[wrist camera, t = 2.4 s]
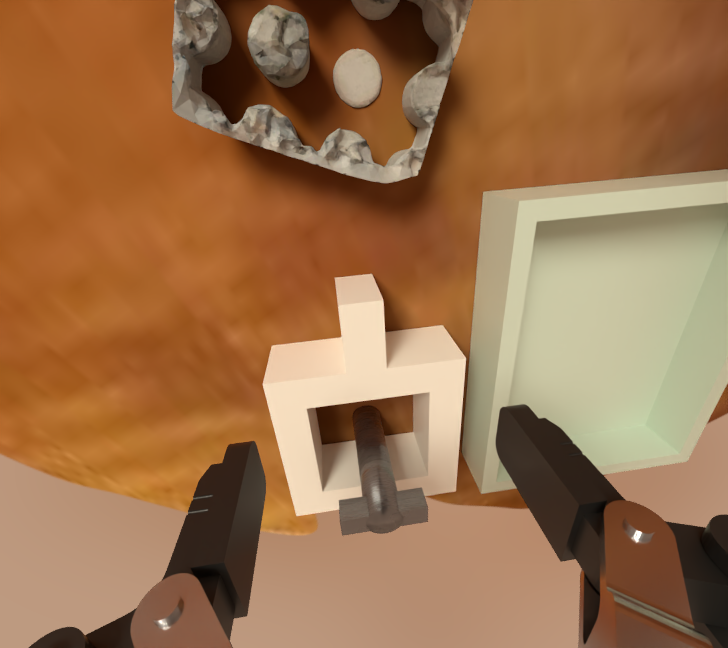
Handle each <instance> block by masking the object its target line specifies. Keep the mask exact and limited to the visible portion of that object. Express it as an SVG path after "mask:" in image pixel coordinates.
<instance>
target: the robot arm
mask: <svg viewBox="0 0 728 648" xmlns="http://www.w3.org/2000/svg"><path fill="white" fill-rule="evenodd" d="M495 444H496V450H497V454H498V457H499V459H500V461H501V463H502V464H503V466H504V468H505V469H506V471H507V473H508V474H509V476H510V478H511V479H512V481H513V483H514V484H515V486H516V488H517V489H518V491H519V493H520V494H521V496H522V498H523V499H524V501H525V503H526V504H527V506H528V508H529V509H530V511H531V513H532V514H533V516H534V518H535V519H536V521H537V522H538V524H539V526H540V528H541V529H542V531H543V533H544V534H545V536H546V538H547V539H548V541H549V543H550V544H551V546H552V548H553V549H554V551H555V553H556V554H557V556H558V558H559V559H560V561H567V560H572V559H576V560H577V561H578V563H579V565H580V566H581V568H582V571H581V574H580V605H579V642H578V648H728V515H718V516H715V517H713V518H712V519H711V520H710V522H709V524H708V525H707V527H706V528H703V527H697V526H691V525H684V524H677V523H671V522H666V521H664V520H663V519H662V518H661V517H659V516H658V515H657V514H656V513H654V512H653V511H651V510H650V509H648V508H646V507H644V506H642V505H640V504H637V503H634V502H631V501H626V500H625V499H624V498H623V497H622V496H621V495H620V494H619V493H618V492H617V490H616V489H615V488H614V487H613V486H612V485H611V484H610V483H609V481H608V480H607V479H606V478H605V477H604V476H603V475H602V474H601V472H600V471H599V470H598V469H597V468H596V467H595V466H594V465H593V464H592V462H591V461H590V460H589V459H588V458H587V457H586V456H585V455H583V454H582V451H581V450H580V449H579V448H578V447H577V446H576V444H573V441H572V440H571V439H570V438H569V437H568V435H567V434H566V433H565V432H564V431H563V430H562V429H561V428H560V427H558V426H557V425H555V424H554V423H552V422H551V421H549V420H548V419H546V418H538V417H537V416H536V415H535V413H534V412H533V411H532V410H531V409H530V407H529V406H527V405H526V404H520V405H513V406H506V407H502V408H501V409H500V412H499V419H498V426H497V433H496V440H495ZM265 494H266V480H265V474H264V470H263V467H262V463H261V460H260V456H259V453H258V449H257V446H256V443H255V442H254V441H250V442H243V443H236V444H230V445H228V447H227V450H226V453H225V456H224V459H223V463H220V464H213V465H211V466H210V467H209V469H208V470H207V471H206V472H205V474H204V475H203V476H202V477H201V479H200V480H199V482H198V485H197V488H196V491H195V493H194V496H193V501H192V502H191V504H190V507H189V510H188V515H187V516H186V518H185V521H184V524H183V527H182V529H181V532H180V535H179V538H178V540H177V543H176V546H175V549H174V552H173V554H172V557H171V560H170V563H169V565H168V568H167V571H166V573H165V575H164V577H163V579H162V581H161V582H159V583H158V584H156V585H155V586H154V587H153V588H152V589H151V590H150V591H149V592H148V593H147V594H146V595H145V597H144V598H143V599H142V601H141V602H140V604H139V605H138V607H137V608H136V609H134V610H133V611H132V612H130V613H128V614H127V615H125V616H123V617H121V618H119V619H117V620H115V621H113V622H111V623H109V624H107V625H105V626H103V627H101V628H99V629H97V630H95V631H93V632H91V633H89V634H87V635H84V634H83V633H82V632H81V631H80V630H79V629H77V628H74V627H65V628H61V629H58V630H55V631H53V632H51V633H49V634H47V635H45V636H44V637H42V638H40V639H39V640H38V641H37V642H35V643H34V644H32V645H31V646H30V647H29V648H233V647H232V645H231V643H230V636H231V630H232V625H233V619H234V618H239V617H245V616H247V614H248V607H249V600H250V593H251V587H252V581H253V574H254V567H255V560H256V554H257V548H258V541H259V534H260V528H261V521H262V515H263V508H264V501H265Z"/></svg>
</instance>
